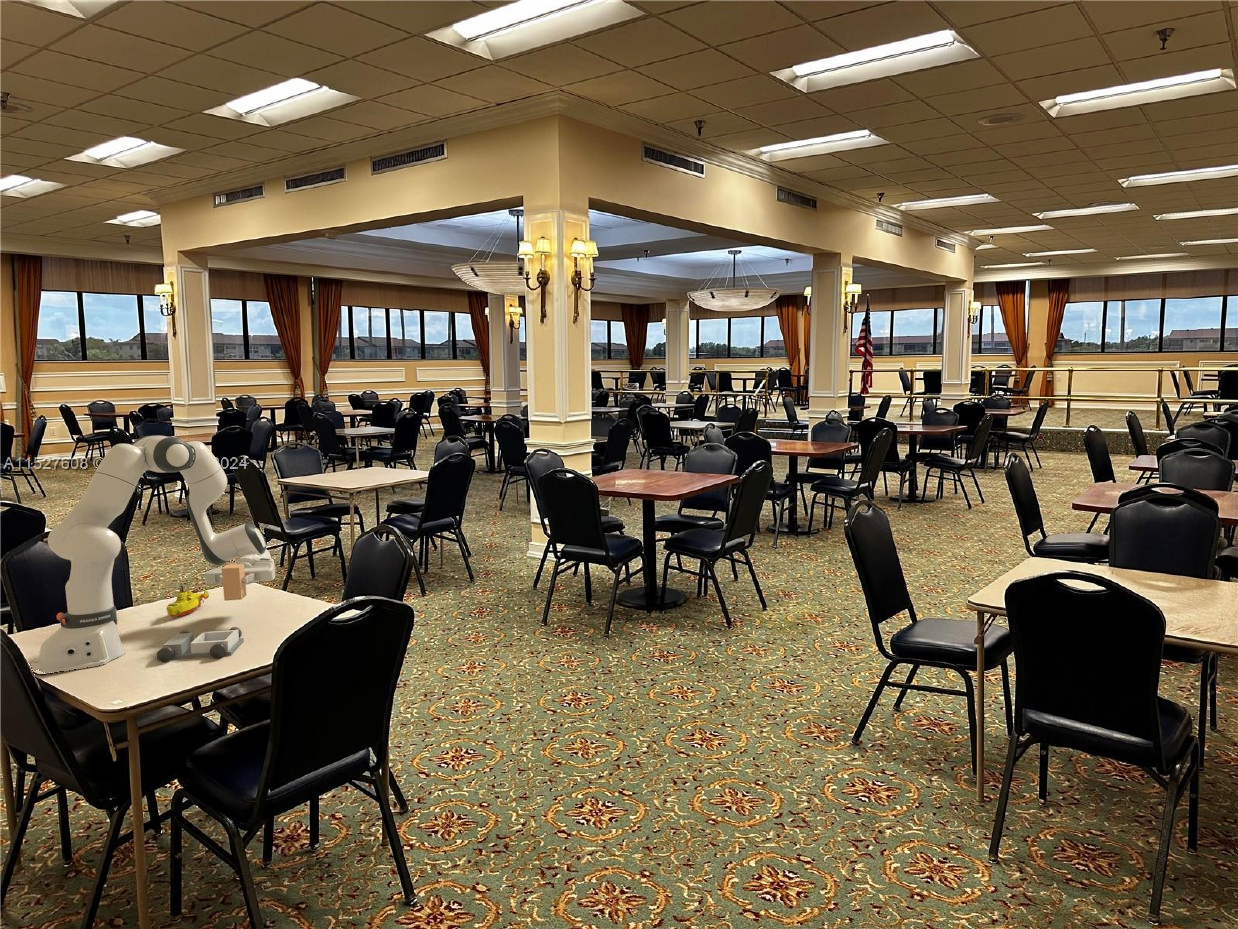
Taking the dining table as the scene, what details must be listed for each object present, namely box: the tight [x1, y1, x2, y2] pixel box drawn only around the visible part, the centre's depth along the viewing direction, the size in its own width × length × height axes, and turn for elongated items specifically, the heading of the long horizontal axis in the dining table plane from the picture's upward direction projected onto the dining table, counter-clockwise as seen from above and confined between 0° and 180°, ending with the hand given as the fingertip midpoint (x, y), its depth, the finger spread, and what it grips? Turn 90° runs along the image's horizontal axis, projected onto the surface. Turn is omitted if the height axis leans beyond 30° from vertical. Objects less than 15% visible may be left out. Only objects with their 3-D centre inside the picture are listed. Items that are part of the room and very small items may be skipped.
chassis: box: [155, 626, 245, 663], centre depth 240 cm, size 20×16×4 cm
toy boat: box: [166, 585, 210, 617], centre depth 277 cm, size 6×18×10 cm, turn 174°
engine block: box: [221, 563, 247, 602], centre depth 254 cm, size 5×5×10 cm
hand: (233, 581), depth 253 cm, fingers closed on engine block, 5 cm apart
